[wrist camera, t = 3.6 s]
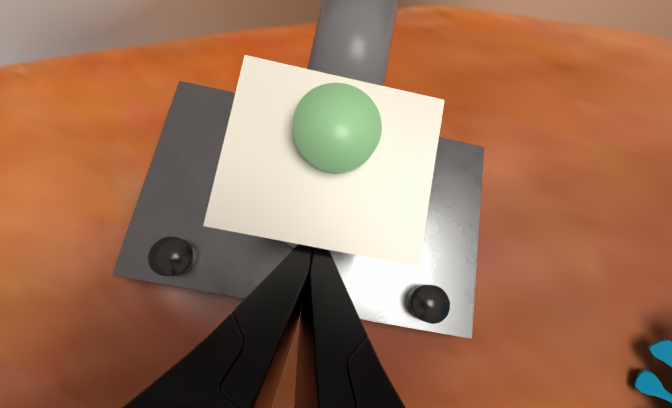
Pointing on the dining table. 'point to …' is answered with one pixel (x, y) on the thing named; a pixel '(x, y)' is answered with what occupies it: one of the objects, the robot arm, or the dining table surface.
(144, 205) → the base
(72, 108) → the dining table surface
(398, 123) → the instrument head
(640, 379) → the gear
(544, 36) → the dining table surface
